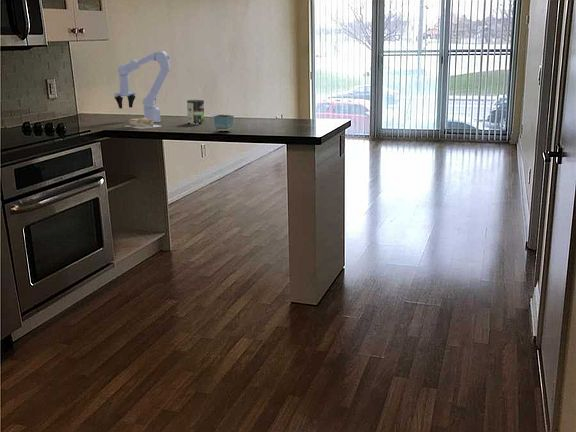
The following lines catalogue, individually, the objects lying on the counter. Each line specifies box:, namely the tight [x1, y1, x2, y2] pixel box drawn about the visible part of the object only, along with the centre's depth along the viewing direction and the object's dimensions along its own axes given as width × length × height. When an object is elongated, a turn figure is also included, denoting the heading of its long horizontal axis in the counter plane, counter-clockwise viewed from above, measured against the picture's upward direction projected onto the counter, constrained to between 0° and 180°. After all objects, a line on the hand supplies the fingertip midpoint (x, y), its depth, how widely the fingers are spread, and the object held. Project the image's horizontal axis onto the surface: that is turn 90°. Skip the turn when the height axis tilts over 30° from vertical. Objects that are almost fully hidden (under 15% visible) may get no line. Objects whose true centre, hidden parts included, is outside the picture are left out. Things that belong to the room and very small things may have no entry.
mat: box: [125, 124, 161, 130], centre depth 357 cm, size 16×16×1 cm
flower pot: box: [213, 114, 234, 130], centre depth 338 cm, size 9×9×9 cm
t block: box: [128, 117, 154, 128], centre depth 355 cm, size 12×12×4 cm
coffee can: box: [186, 99, 205, 124], centre depth 370 cm, size 10×10×14 cm
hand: (125, 107), depth 373 cm, fingers open, 7 cm apart
